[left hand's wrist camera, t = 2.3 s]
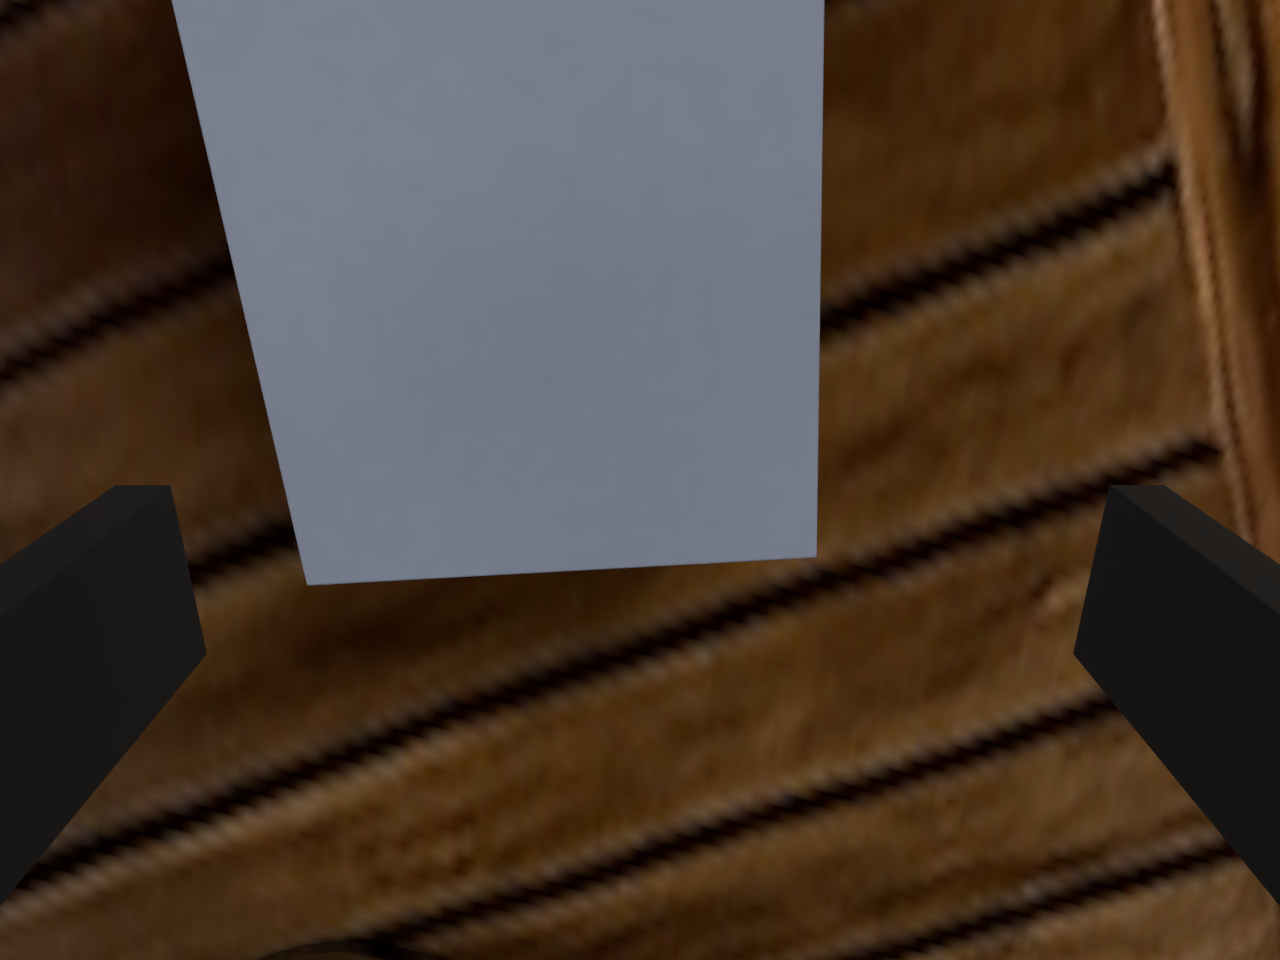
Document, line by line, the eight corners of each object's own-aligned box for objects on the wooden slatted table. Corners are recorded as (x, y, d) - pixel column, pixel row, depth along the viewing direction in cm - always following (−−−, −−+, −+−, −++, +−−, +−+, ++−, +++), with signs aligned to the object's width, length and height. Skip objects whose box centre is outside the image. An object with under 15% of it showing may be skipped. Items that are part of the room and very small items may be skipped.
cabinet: (286, -272, 21) (44, -544, 13) (754, -309, 21) (833, -613, 12) (408, 445, 28) (305, 586, 19) (762, 424, 28) (817, 558, 19)
